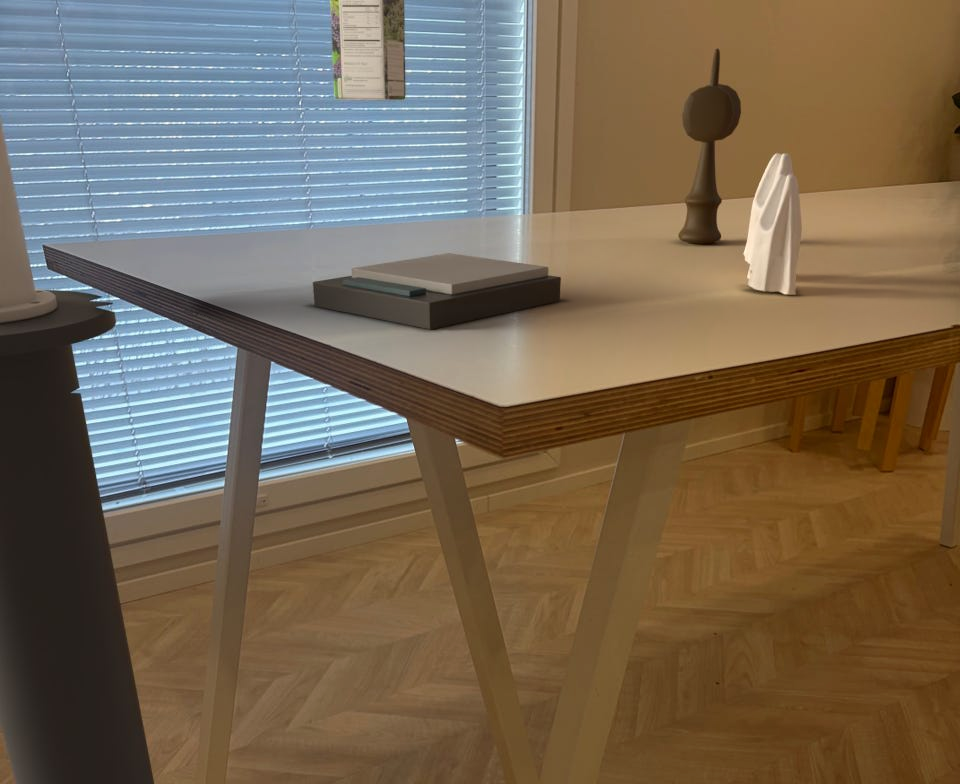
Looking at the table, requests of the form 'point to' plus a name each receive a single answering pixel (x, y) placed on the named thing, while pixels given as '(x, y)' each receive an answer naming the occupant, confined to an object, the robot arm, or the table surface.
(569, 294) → the table surface
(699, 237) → the kendama
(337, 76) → the syrup box
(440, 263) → the scale
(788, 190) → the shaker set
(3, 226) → the robot arm
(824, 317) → the table surface
